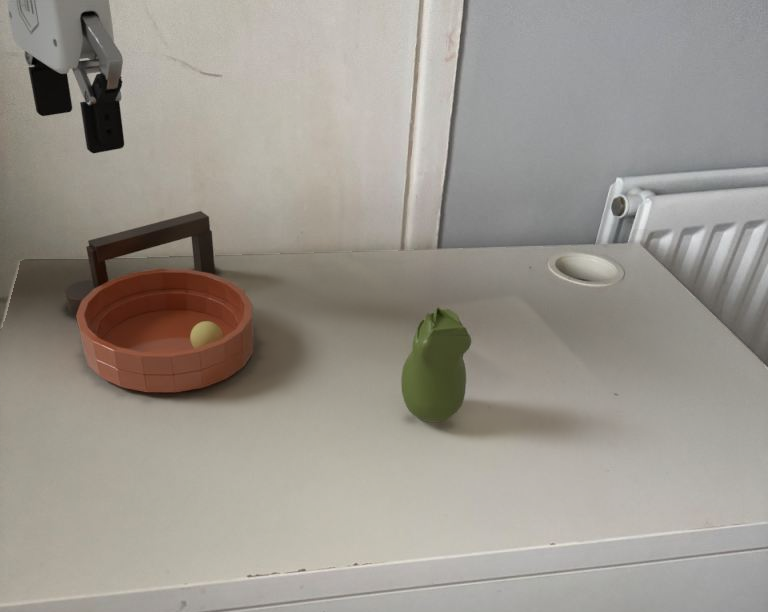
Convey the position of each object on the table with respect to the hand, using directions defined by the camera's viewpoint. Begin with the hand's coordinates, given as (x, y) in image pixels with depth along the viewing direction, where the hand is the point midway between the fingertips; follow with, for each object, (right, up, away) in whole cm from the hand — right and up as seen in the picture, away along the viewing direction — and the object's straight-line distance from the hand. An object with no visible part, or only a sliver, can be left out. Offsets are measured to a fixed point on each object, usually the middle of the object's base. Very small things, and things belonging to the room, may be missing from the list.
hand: (79, 130), depth 74 cm
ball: (+11, -18, +3) cm, 21 cm away
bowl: (+7, -19, +4) cm, 20 cm away
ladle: (+2, -11, +12) cm, 16 cm away
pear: (+31, -25, 0) cm, 40 cm away
